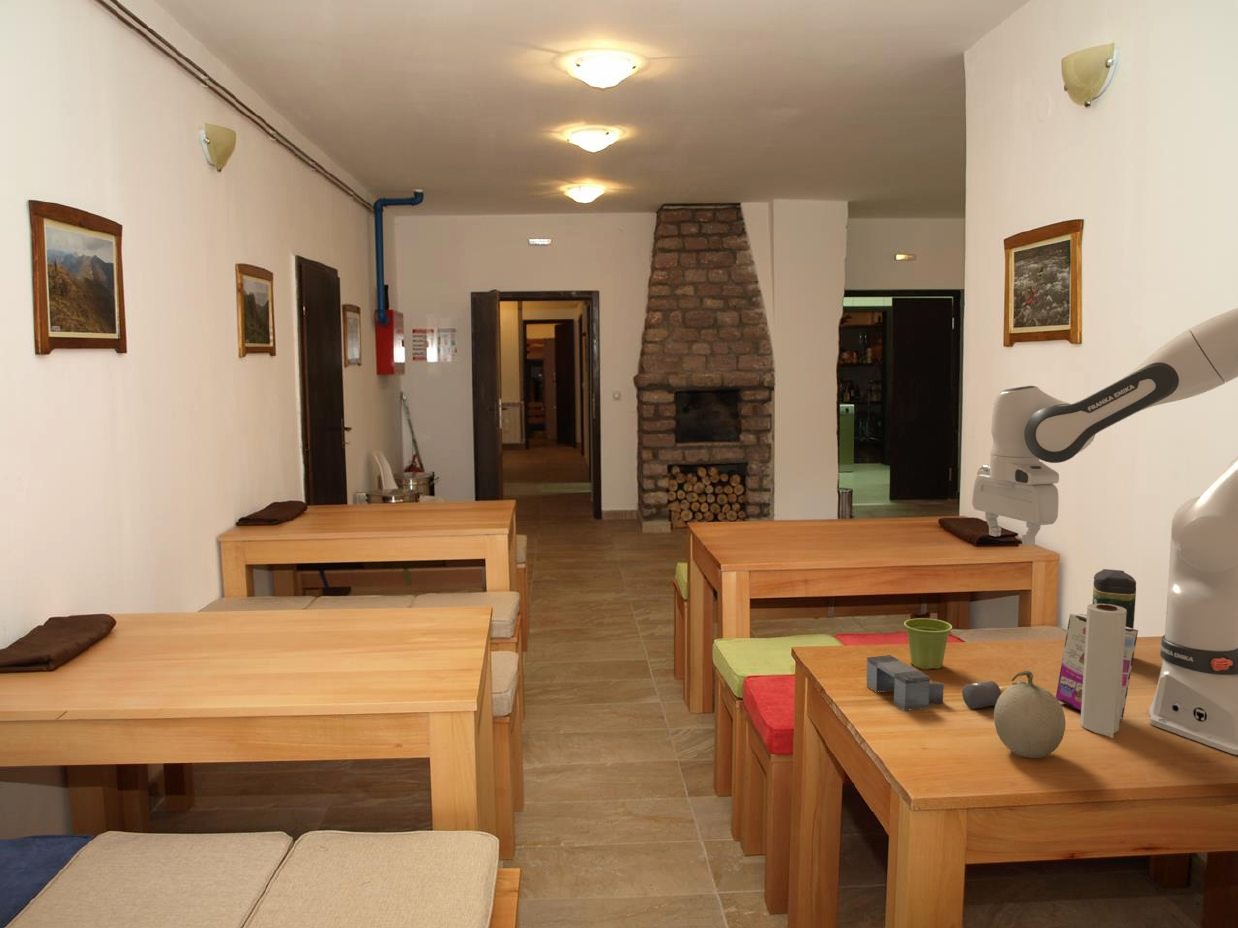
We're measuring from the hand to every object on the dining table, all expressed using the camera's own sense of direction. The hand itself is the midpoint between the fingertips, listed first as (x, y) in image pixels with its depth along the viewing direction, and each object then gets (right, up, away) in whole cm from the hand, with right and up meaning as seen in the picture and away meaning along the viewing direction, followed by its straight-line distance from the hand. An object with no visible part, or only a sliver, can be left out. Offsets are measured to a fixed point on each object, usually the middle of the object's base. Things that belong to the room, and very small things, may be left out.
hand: (1011, 540), depth 187 cm
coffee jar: (+27, -26, +15) cm, 41 cm away
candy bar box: (+8, -30, -15) cm, 34 cm away
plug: (-7, -29, -11) cm, 32 cm away
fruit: (-11, -32, -32) cm, 47 cm away
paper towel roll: (+6, -31, -22) cm, 39 cm away
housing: (-23, -29, -7) cm, 37 cm away
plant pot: (-13, -27, +11) cm, 32 cm away
